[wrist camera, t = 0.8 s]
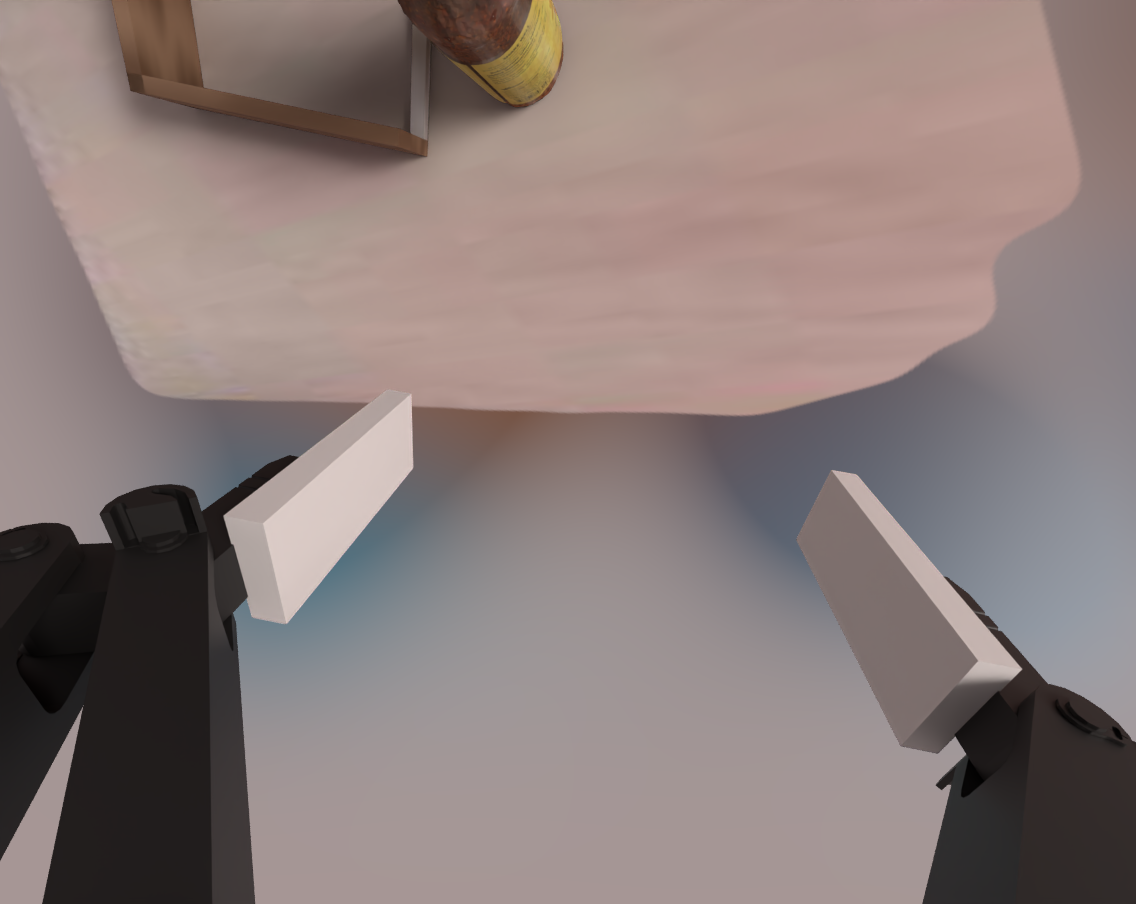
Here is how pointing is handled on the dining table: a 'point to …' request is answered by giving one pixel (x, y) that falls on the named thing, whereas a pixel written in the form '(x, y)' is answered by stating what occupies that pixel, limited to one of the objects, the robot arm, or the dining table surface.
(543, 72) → the sauce bottle
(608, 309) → the dining table surface
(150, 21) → the frame
